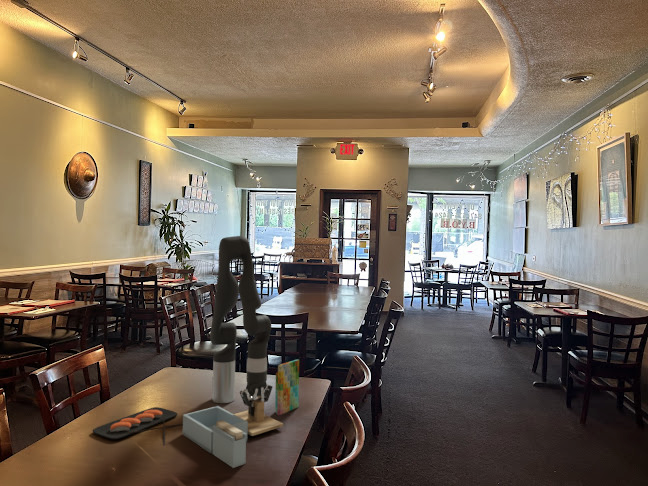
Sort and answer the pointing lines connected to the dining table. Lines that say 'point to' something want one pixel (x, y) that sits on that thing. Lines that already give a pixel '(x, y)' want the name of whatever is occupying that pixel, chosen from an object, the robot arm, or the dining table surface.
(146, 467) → the dining table surface
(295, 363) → the puzzle game
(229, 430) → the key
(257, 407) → the lid
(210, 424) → the toolbox
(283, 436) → the dining table surface
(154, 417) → the sushi plate
